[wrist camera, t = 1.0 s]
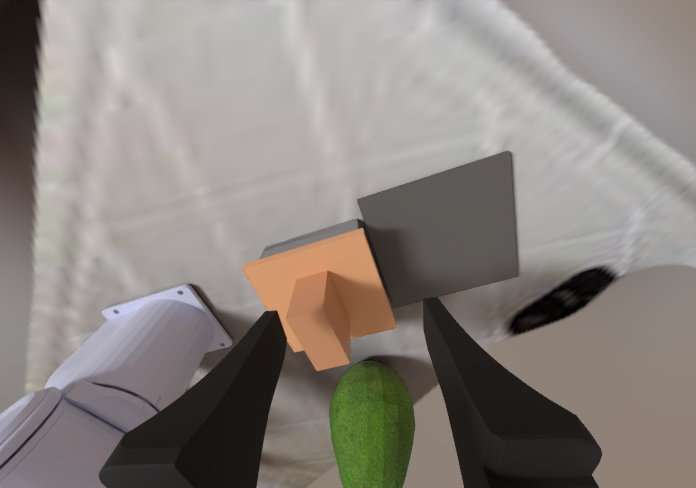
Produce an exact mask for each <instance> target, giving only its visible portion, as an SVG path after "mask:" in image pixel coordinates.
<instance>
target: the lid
mask: <svg viewBox="0 0 696 488" xmlns="http://www.w3.org/2000/svg"><path fill="white" fill-rule="evenodd" d="M242 270H243V272H244V274H245V275H246V277H247V278H248V280H249V281H250V283H251V285H252V286H253V288H254V289H255V291H256V293H257V294H258V296H259V297H260V299H261V301H262V302H263V304H264V305H265V307H266V308H267V310H268V311H275V310H277V311H278V314H279V317H280V320H281V323H282V326H283V329H284V331H285V334H286V337H287V342H288V343H289V345H290V346H291V348H292V350H293V351H294V353H295V352H299V351H303V350H304V351H305V352H306V354H307V356H308V357H309V359H310V361H311V362H312V364H313V366H314V367H315V369H316V371H320V370H324V369H328V368H333V367H337V366H342V365H346V364H350V339H353V338H357V337H361V336H365V335H369V334H373V333H378V332H382V331H386V330H390V329H394V328H397V326H396V321H395V318H394V315H393V312H392V309H391V306H390V304H389V301H388V298H387V295H386V292H385V289H384V286H383V284H382V281H381V278H380V275H379V272H378V269H377V266H376V264H375V261H374V258H373V255H372V252H371V249H370V246H369V244H368V241H367V238H366V235H365V232H364V229H363V228H361V229H357V230H354V231H351V232H348V233H344V234H341V235H338V236H334V237H331V238H328V239H325V240H321V241H318V242H315V243H312V244H308V245H305V246H302V247H298V248H295V249H292V250H289V251H285V252H282V253H279V254H275V255H272V256H269V257H266V258H262V259H259V260H256V261H253V262H249V263H246V264H245V266H244V267H243V269H242Z"/></svg>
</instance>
